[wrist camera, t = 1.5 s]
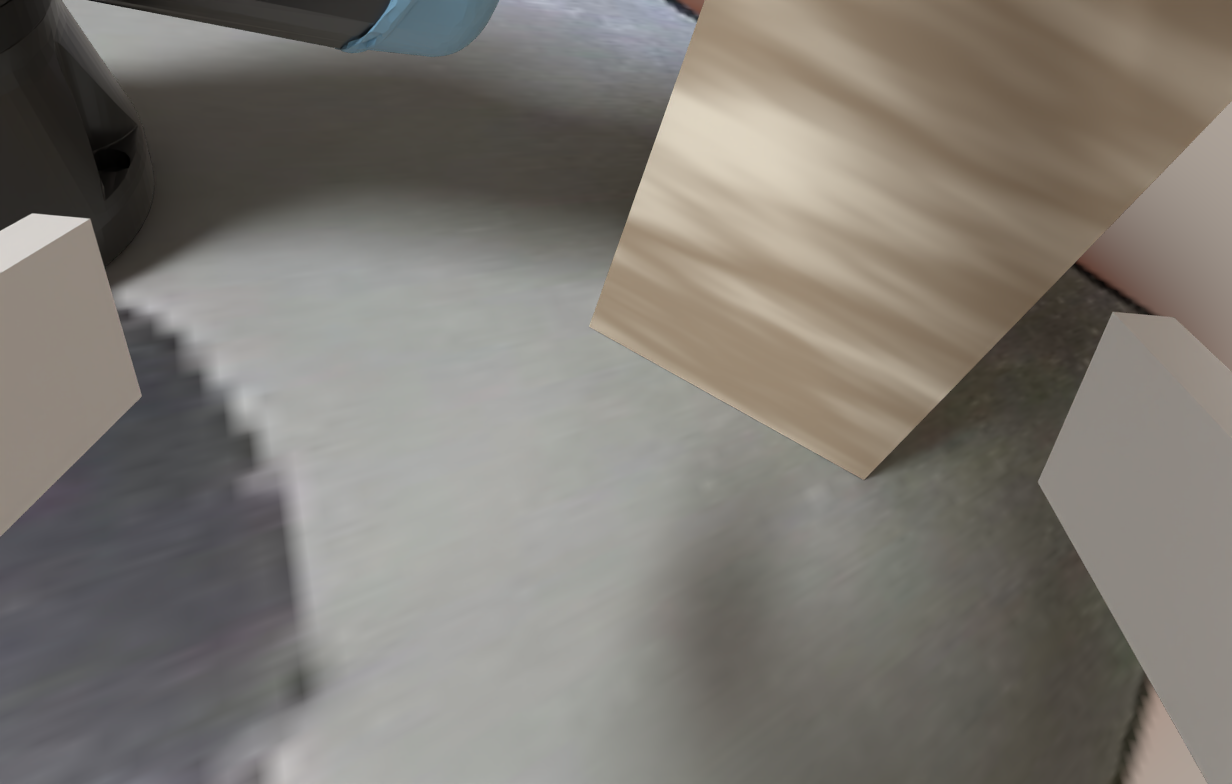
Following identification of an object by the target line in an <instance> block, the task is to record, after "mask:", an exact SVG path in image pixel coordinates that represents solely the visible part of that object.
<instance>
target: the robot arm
mask: <svg viewBox="0 0 1232 784" xmlns="http://www.w3.org/2000/svg"><path fill="white" fill-rule="evenodd" d="M89 1H95V2H100V3H105V4H110V5H115V6H121V7H126V8H131V9H136V10H141V11H146V12H152V13H157V14H162V15H167V16H172V17H178V18H183V19H188V20H193V21H198V22H203V23H209V24H214V25H219V26H224V27H229V28H235V29H240V30H245V31H250V32H255V33H261V34H266V35H271V36H276V37H281V38H286V39H292V40H297V41H302V42H307V43H312V44H318V45H323V46H328V47H333V48H335V49H339V50H341V51H343V52H348V53H360V52H363V51H366V50H374V51H384V52H393V53H402V54H411V55H420V56H429V57H437V56H445V55H450V54H453V53H455V52H458V51H460V50H461V49H463V48H464V47H466V46H467V45H469V44H470V43H471V42H472V41H473V40H474V39H476V37H477V36H478V35H479V34H480V33H481V31H482V30H483V29H484V27H485V26H486V24H487V23H488V21H489V20H490V18H491V16H492V14H493V12H494V10H495V8H496V6H497V4H498V2H499V0H89ZM153 194H154V173H153V168H152V164H151V159H150V155H149V151H148V146H147V142H146V138H145V134H144V129H143V127H142V124H141V121H140V119H139V117H138V114H137V112H136V110H135V108H134V106H133V105H132V103H131V101H130V100H129V98H128V97H127V95H126V94H125V92H124V91H123V90H122V88H121V87H120V85H119V84H118V82H117V81H116V79H115V78H114V76H113V75H112V73H111V72H110V70H109V69H108V68H107V66H106V65H105V63H104V62H103V60H102V59H101V57H100V56H99V54H98V53H97V51H96V50H95V48H94V47H93V45H92V44H91V43H90V41H89V40H88V38H87V37H86V35H85V34H84V32H83V31H82V29H81V28H80V26H79V25H78V23H77V22H76V20H75V19H74V18H73V16H72V15H71V13H70V12H69V10H68V9H67V7H66V6H65V4H64V3H63V1H62V0H0V536H1V535H2V534H3V533H4V532H5V531H6V530H7V529H8V528H9V527H10V526H11V525H12V524H13V523H14V522H16V521H17V520H18V519H19V518H20V517H21V516H22V515H23V514H24V513H25V512H26V511H27V510H28V509H29V508H30V507H31V506H32V505H33V504H34V503H35V502H36V501H37V500H38V499H39V498H40V497H41V496H42V495H43V494H44V493H45V492H46V491H47V490H48V489H49V488H50V487H51V486H52V485H53V484H54V483H55V482H56V481H57V480H58V479H59V478H60V477H61V476H62V475H63V474H64V473H65V472H66V471H67V470H68V469H69V468H70V467H71V466H72V465H73V464H74V463H75V462H76V461H77V460H78V459H79V458H80V457H81V456H82V455H83V454H84V453H85V452H86V451H87V450H88V449H89V448H90V447H91V446H92V445H93V444H94V443H95V442H96V441H97V440H98V439H99V438H100V437H101V436H102V435H103V434H104V433H105V432H106V431H107V430H108V429H109V428H110V427H111V426H112V425H113V424H114V423H115V422H116V421H117V420H118V419H119V418H120V417H121V416H122V415H123V414H124V413H125V412H126V411H127V410H128V409H130V408H131V407H132V406H133V405H134V404H135V403H136V402H137V401H138V400H139V399H140V398H141V397H142V395H141V392H140V388H139V385H138V381H137V378H136V374H135V371H134V368H133V364H132V361H131V357H130V354H129V350H128V347H127V343H126V340H125V337H124V333H123V330H122V326H121V323H120V319H119V316H118V313H117V309H116V306H115V302H114V299H113V295H112V292H111V289H110V285H109V282H108V278H107V275H106V271H105V268H104V267H105V266H106V265H107V264H108V263H110V262H111V261H112V260H113V259H114V258H115V257H116V256H118V255H119V254H120V253H121V252H122V251H123V250H124V249H125V248H126V246H127V245H128V244H129V243H130V242H131V241H132V239H133V238H134V237H135V236H136V234H137V233H138V231H139V230H140V228H141V227H142V225H143V223H144V221H145V219H146V217H147V215H148V212H149V210H150V207H151V203H152V200H153ZM1038 483H1039V485H1040V487H1041V489H1042V491H1043V492H1044V494H1045V496H1046V498H1047V499H1048V501H1049V503H1050V505H1051V507H1052V508H1053V510H1054V512H1055V514H1056V515H1057V517H1058V519H1059V521H1060V522H1061V524H1062V526H1063V528H1064V530H1065V531H1066V533H1067V535H1068V537H1069V538H1070V540H1071V542H1072V544H1073V546H1074V547H1075V549H1076V551H1077V553H1078V554H1079V556H1080V558H1081V560H1082V562H1083V563H1084V565H1085V567H1086V569H1087V570H1088V572H1089V574H1090V576H1091V578H1092V579H1093V581H1094V583H1095V585H1096V586H1097V588H1098V590H1099V592H1100V593H1101V595H1102V597H1103V599H1104V601H1105V602H1106V604H1107V606H1108V608H1109V609H1110V611H1111V613H1112V615H1113V617H1114V618H1115V620H1116V622H1117V624H1118V625H1119V627H1120V629H1121V631H1122V633H1123V634H1124V636H1125V638H1126V640H1127V641H1128V643H1129V645H1130V647H1131V649H1132V650H1133V652H1134V654H1135V656H1136V657H1137V659H1138V661H1139V663H1140V664H1141V666H1142V668H1143V670H1144V672H1145V673H1146V675H1147V677H1148V679H1149V680H1150V682H1151V684H1152V686H1153V688H1154V689H1155V691H1156V693H1157V695H1158V696H1159V698H1160V700H1161V702H1162V704H1163V705H1164V707H1165V709H1166V710H1167V712H1168V714H1169V716H1170V718H1171V720H1172V721H1173V723H1174V725H1175V726H1176V728H1177V730H1178V732H1179V733H1180V735H1181V737H1182V739H1183V741H1184V743H1185V744H1186V746H1187V748H1188V750H1189V751H1190V753H1191V755H1192V757H1193V758H1194V760H1195V762H1196V764H1197V766H1198V767H1199V769H1200V771H1201V773H1202V774H1203V776H1204V778H1205V780H1206V781H1207V783H1208V784H1232V371H1231V370H1229V369H1228V368H1227V367H1226V366H1225V365H1224V364H1223V363H1222V362H1221V361H1220V360H1219V359H1218V358H1217V357H1216V356H1215V355H1214V354H1212V353H1211V352H1210V351H1209V350H1208V349H1207V348H1206V347H1205V346H1204V345H1203V344H1202V343H1201V342H1200V341H1199V340H1198V339H1197V338H1196V337H1194V336H1193V335H1192V334H1191V333H1190V332H1189V331H1188V330H1187V329H1186V328H1185V327H1184V326H1183V325H1182V324H1181V323H1180V322H1179V321H1177V320H1176V319H1175V318H1174V317H1165V316H1154V315H1143V314H1132V313H1121V312H1112V314H1111V317H1110V319H1109V321H1108V324H1107V326H1106V328H1105V330H1104V333H1103V335H1102V337H1101V339H1100V342H1099V344H1098V346H1097V349H1096V351H1095V353H1094V355H1093V358H1092V360H1091V362H1090V365H1089V367H1088V369H1087V371H1086V374H1085V376H1084V378H1083V380H1082V383H1081V385H1080V387H1079V390H1078V392H1077V394H1076V396H1075V399H1074V401H1073V403H1072V405H1071V408H1070V410H1069V412H1068V415H1067V417H1066V419H1065V421H1064V424H1063V426H1062V428H1061V431H1060V433H1059V435H1058V437H1057V440H1056V442H1055V444H1054V446H1053V449H1052V451H1051V453H1050V456H1049V458H1048V460H1047V462H1046V465H1045V467H1044V469H1043V471H1042V474H1041V476H1040V478H1039V481H1038Z"/></svg>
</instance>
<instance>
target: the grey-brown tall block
mask: <svg viewBox="0 0 1232 784" xmlns="http://www.w3.org/2000/svg"><path fill="white" fill-rule="evenodd" d="M1231 101H1232V0H705V2H704V4H703V8H702V10H701V13H700V16H699V18H698V21H697V24H696V27H695V30H694V33H693V35H692V38H691V41H690V44H689V47H688V49H687V52H686V55H685V58H684V61H683V64H682V66H681V69H680V72H679V75H678V78H677V80H676V83H675V86H674V89H673V92H672V95H671V97H670V100H669V103H668V106H667V109H666V111H665V114H664V117H663V120H662V123H661V126H660V128H659V131H658V134H657V137H656V140H655V142H654V145H653V148H652V151H651V154H650V157H649V159H648V162H647V165H646V168H645V171H644V173H643V176H642V179H641V182H640V185H639V188H638V190H637V193H636V196H635V199H634V202H633V204H632V207H631V210H630V213H629V216H628V219H627V221H626V224H625V227H624V230H623V233H622V236H621V238H620V241H619V244H618V247H617V250H616V252H615V255H614V258H613V261H612V264H611V267H610V269H609V272H608V275H607V278H606V281H605V283H604V286H603V289H602V292H601V295H600V298H599V300H598V303H597V306H596V309H595V312H594V314H593V317H592V320H591V323H590V326H589V327H591V328H592V329H594V330H596V331H598V332H600V333H601V334H603V335H605V336H607V337H609V338H610V339H612V340H614V341H616V342H618V343H619V344H621V345H623V346H625V347H626V348H628V349H630V350H632V351H634V352H635V353H637V354H639V355H641V356H643V357H644V358H646V359H648V360H650V361H652V362H653V363H655V364H657V365H659V366H661V367H662V368H664V369H666V370H668V371H669V372H671V373H673V374H675V375H677V376H678V377H680V378H682V379H684V380H686V381H687V382H689V383H691V384H693V385H695V386H696V387H698V388H700V389H702V390H704V391H705V392H707V393H709V394H711V395H712V396H714V397H716V398H718V399H720V400H721V401H723V402H725V403H727V404H729V405H730V406H732V407H734V408H736V409H738V410H739V411H741V412H743V413H745V414H747V415H748V416H750V417H752V418H754V419H755V420H757V421H759V422H761V423H763V424H764V425H766V426H768V427H770V428H772V429H773V430H775V431H777V432H779V433H781V434H782V435H784V436H786V437H788V438H790V439H791V440H793V441H795V442H797V443H798V444H800V445H802V446H804V447H806V448H807V449H809V450H811V451H813V452H815V453H816V454H818V455H820V456H822V457H824V458H825V459H827V460H829V461H831V462H833V463H834V464H836V465H838V466H840V467H841V468H843V469H845V470H847V471H849V472H850V473H852V474H854V475H856V476H858V477H859V478H861V479H863V480H864V479H865V478H866V477H867V476H868V475H869V474H870V473H871V472H872V471H873V470H874V469H875V468H876V467H877V466H878V465H879V464H880V463H881V462H882V461H883V460H884V459H885V458H886V457H887V456H888V455H889V454H890V453H891V452H892V451H893V450H894V449H895V447H896V446H897V445H898V444H899V443H900V442H901V441H902V440H903V439H904V438H905V437H906V436H907V435H908V434H909V433H910V432H911V431H912V430H913V429H914V428H915V427H916V426H917V425H918V424H919V423H920V422H921V421H922V420H923V419H924V418H925V417H926V416H927V415H928V413H929V412H930V411H931V410H932V409H933V408H934V407H935V406H936V405H937V404H938V403H939V402H940V401H941V400H942V399H943V398H944V397H945V396H946V395H947V394H948V393H949V392H950V391H951V390H952V389H953V388H954V387H955V386H956V385H957V384H958V383H959V382H960V381H961V379H962V378H963V377H964V376H965V375H966V374H967V373H968V372H969V371H970V370H971V369H972V368H973V367H974V366H975V365H976V364H977V363H978V362H979V361H980V360H981V359H982V358H983V357H984V356H985V355H986V354H987V353H988V352H989V351H990V350H991V349H992V348H993V347H994V345H995V344H996V343H997V342H998V341H999V340H1000V339H1001V338H1002V337H1003V336H1004V335H1005V334H1006V333H1007V332H1008V331H1009V330H1010V329H1011V328H1012V327H1013V326H1014V325H1015V324H1016V323H1017V322H1018V321H1019V320H1020V319H1021V318H1022V317H1023V316H1024V315H1025V314H1026V313H1027V311H1028V310H1029V309H1030V308H1031V307H1032V306H1033V305H1034V304H1035V303H1036V302H1037V301H1038V300H1039V299H1040V298H1041V297H1042V296H1043V295H1044V294H1045V293H1046V292H1047V291H1048V290H1049V289H1050V288H1051V287H1052V286H1053V285H1054V284H1055V283H1056V282H1057V281H1058V280H1059V279H1060V277H1061V276H1062V275H1063V274H1064V273H1065V272H1066V271H1067V270H1068V269H1069V268H1070V267H1071V266H1072V265H1073V264H1074V263H1075V262H1076V261H1077V260H1078V259H1079V258H1080V257H1081V256H1082V255H1083V254H1084V253H1085V252H1086V251H1087V250H1088V249H1089V248H1090V247H1091V246H1092V244H1093V243H1094V242H1095V241H1096V240H1097V239H1098V238H1099V237H1100V236H1101V235H1102V234H1103V233H1104V232H1105V231H1106V230H1107V229H1108V228H1109V227H1110V226H1111V225H1112V224H1113V223H1114V222H1115V221H1116V220H1117V219H1118V218H1119V217H1120V216H1121V215H1122V214H1123V213H1124V211H1125V210H1126V209H1127V208H1128V207H1129V206H1130V205H1131V204H1132V203H1133V202H1134V201H1135V200H1136V199H1137V198H1138V197H1139V196H1140V195H1141V194H1142V193H1143V192H1144V191H1145V190H1146V189H1147V188H1148V187H1149V186H1150V185H1151V183H1153V182H1154V181H1155V180H1156V178H1158V176H1159V175H1160V174H1161V173H1162V172H1163V171H1164V170H1165V169H1166V168H1167V167H1168V166H1169V165H1170V164H1171V163H1172V162H1173V161H1174V160H1175V159H1176V158H1177V157H1178V156H1179V155H1180V154H1181V153H1182V152H1183V151H1184V150H1185V148H1187V147H1188V146H1189V144H1190V143H1191V142H1192V141H1193V140H1194V139H1195V138H1196V137H1197V136H1198V135H1199V134H1200V133H1201V132H1202V131H1203V130H1204V129H1205V128H1206V127H1207V126H1208V125H1209V124H1210V123H1211V122H1212V121H1213V120H1214V119H1215V118H1216V117H1217V116H1218V115H1219V114H1220V113H1221V112H1222V111H1223V110H1224V108H1225V107H1226V106H1227V105H1228V104H1229V103H1230V102H1231Z"/></svg>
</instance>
